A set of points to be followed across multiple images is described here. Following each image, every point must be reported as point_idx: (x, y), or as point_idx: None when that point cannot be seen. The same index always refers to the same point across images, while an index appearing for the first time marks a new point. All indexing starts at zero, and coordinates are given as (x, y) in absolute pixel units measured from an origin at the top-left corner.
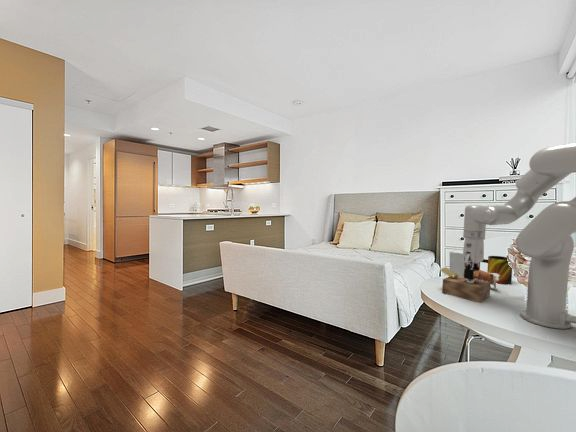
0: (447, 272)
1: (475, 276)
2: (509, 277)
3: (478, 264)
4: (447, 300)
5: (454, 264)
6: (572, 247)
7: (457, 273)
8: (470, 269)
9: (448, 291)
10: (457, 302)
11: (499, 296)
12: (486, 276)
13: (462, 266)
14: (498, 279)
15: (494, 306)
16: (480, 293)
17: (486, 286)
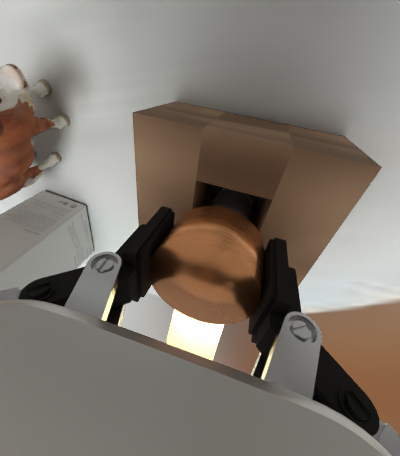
0: (220, 334)
1: (250, 235)
2: None
3: (102, 282)
4: (380, 261)
5: None
6: None
7: (67, 254)
8: (308, 331)
9: None
10: (396, 228)
11: (137, 49)
12: (9, 150)
13: (29, 268)
14: (5, 68)
15: (392, 41)
16: (357, 151)
17: (229, 129)
